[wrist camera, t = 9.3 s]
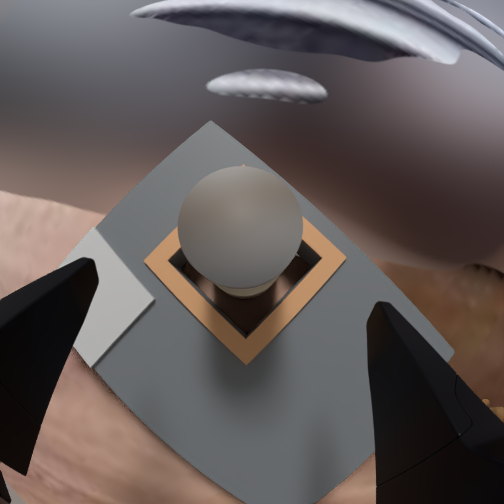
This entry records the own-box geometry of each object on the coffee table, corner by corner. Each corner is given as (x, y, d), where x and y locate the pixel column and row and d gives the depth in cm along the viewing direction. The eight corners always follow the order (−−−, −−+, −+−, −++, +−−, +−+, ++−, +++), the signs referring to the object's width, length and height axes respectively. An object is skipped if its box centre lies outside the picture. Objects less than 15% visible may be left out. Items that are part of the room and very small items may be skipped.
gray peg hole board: (431, 348, 18) (457, 352, 15) (279, 502, 16) (283, 527, 13) (215, 143, 21) (210, 117, 18) (64, 296, 19) (38, 293, 15)
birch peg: (287, 280, 19) (326, 248, 9) (231, 310, 19) (212, 309, 9) (257, 227, 20) (264, 148, 10) (203, 255, 19) (159, 200, 10)
